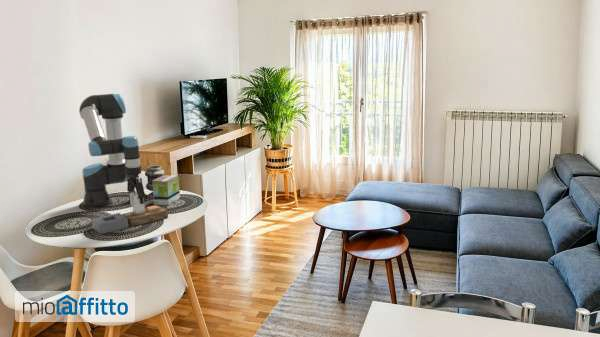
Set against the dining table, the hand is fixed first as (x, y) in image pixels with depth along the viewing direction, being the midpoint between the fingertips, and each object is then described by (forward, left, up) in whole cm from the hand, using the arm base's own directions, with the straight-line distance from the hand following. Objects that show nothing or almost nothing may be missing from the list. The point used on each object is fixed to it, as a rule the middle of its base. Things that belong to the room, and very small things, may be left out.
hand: (137, 207), depth 252 cm
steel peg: (0, 0, -8) cm, 8 cm away
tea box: (-23, +27, -8) cm, 36 cm away
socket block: (0, +4, -7) cm, 8 cm away
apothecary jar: (-43, +29, -8) cm, 52 cm away
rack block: (0, -15, -7) cm, 17 cm away
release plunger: (0, +8, -7) cm, 11 cm away
